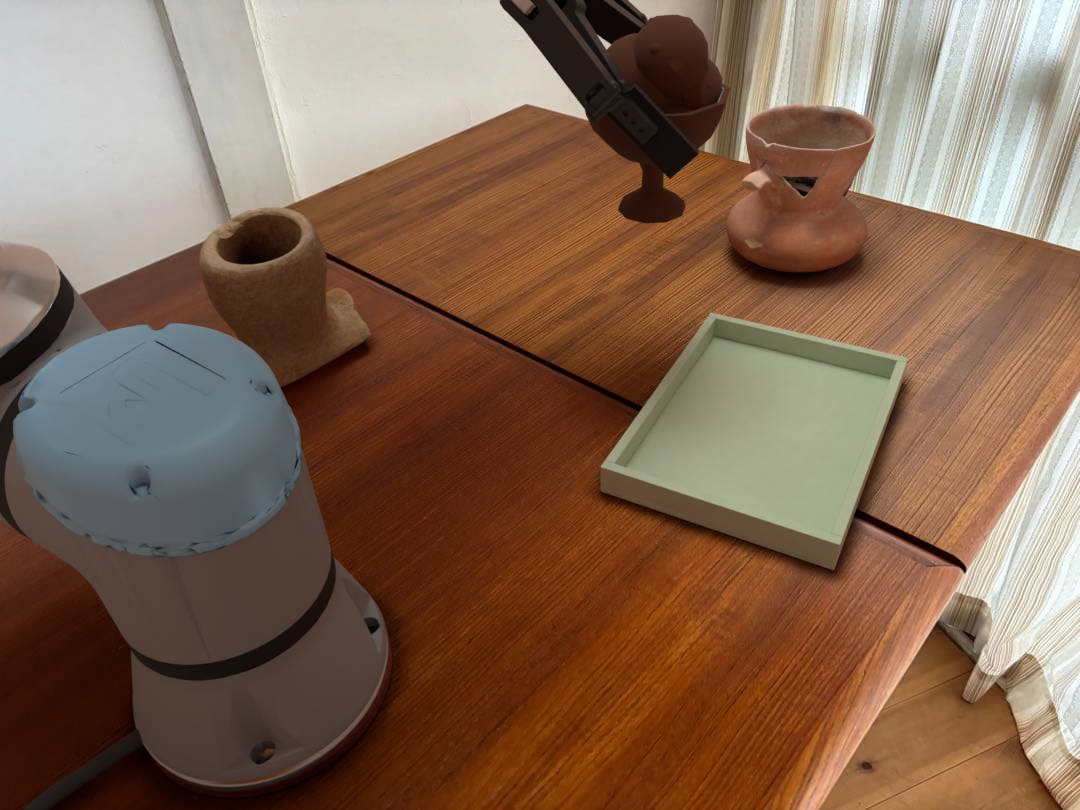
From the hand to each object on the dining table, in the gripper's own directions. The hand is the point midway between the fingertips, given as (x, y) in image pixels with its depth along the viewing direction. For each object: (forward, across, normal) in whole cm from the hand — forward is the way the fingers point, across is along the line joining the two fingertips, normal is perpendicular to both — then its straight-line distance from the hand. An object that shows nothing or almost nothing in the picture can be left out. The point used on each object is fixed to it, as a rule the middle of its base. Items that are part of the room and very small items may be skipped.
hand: (690, 135), depth 65 cm
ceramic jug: (+23, +22, +7) cm, 32 cm away
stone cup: (-10, -5, +40) cm, 41 cm away
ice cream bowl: (+3, 0, +6) cm, 7 cm away
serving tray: (+20, -10, +9) cm, 24 cm away
